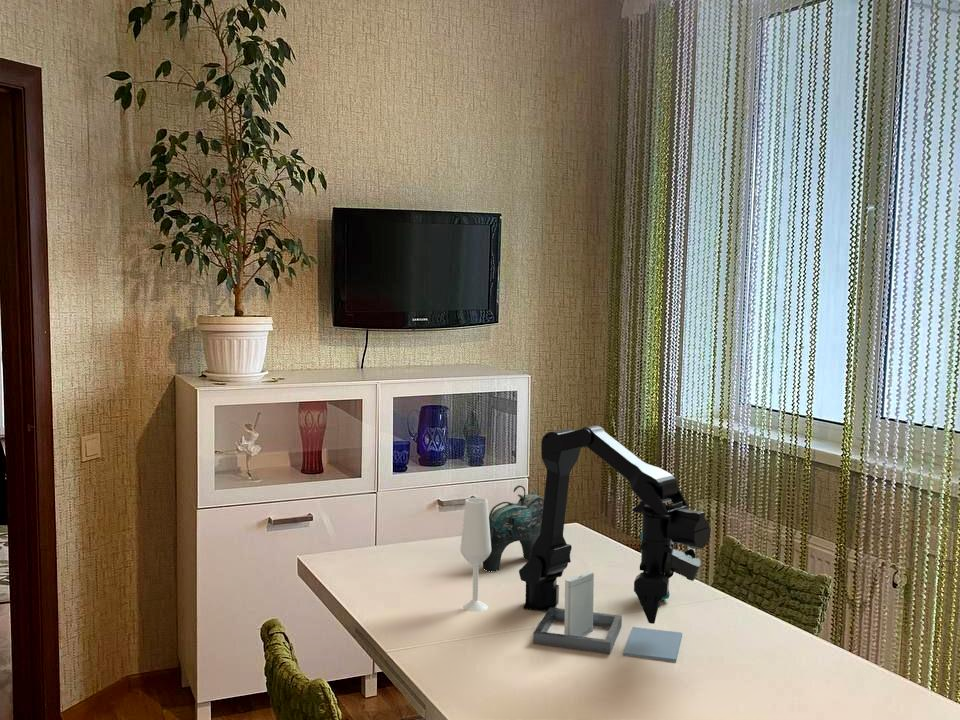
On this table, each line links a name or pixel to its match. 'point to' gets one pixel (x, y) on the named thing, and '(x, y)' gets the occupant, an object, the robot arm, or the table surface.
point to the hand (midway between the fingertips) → (654, 615)
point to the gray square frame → (576, 641)
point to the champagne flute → (476, 543)
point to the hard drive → (579, 604)
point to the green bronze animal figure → (514, 527)
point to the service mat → (653, 644)
